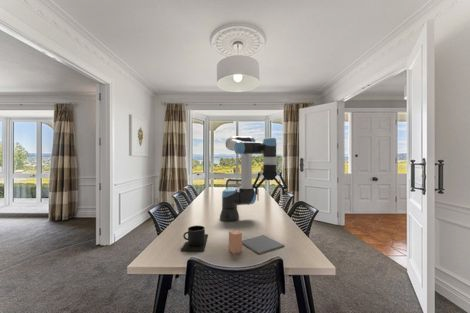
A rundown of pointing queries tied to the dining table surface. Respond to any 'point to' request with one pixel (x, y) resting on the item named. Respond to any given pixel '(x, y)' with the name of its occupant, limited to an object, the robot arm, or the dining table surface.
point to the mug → (195, 236)
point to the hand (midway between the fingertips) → (269, 200)
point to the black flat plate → (194, 249)
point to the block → (235, 241)
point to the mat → (261, 244)
